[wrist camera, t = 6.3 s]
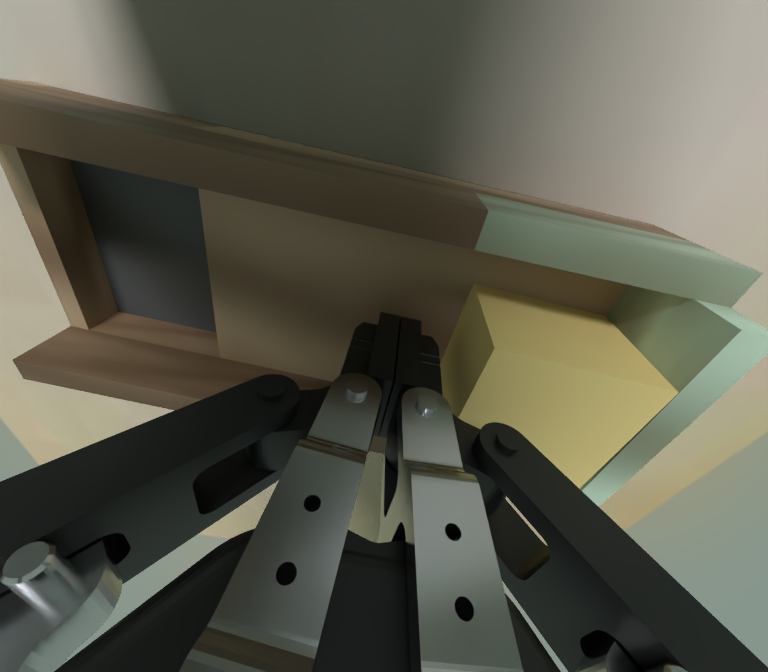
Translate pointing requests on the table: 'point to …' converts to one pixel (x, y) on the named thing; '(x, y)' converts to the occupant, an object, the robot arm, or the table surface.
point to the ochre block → (550, 378)
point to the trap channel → (324, 262)
